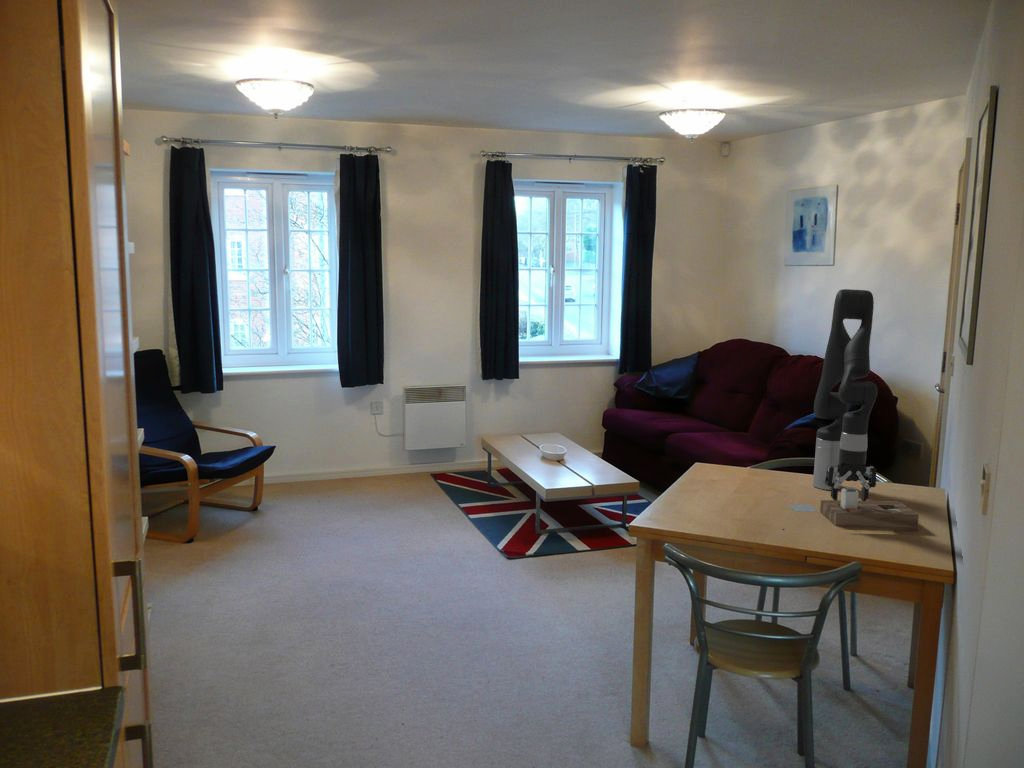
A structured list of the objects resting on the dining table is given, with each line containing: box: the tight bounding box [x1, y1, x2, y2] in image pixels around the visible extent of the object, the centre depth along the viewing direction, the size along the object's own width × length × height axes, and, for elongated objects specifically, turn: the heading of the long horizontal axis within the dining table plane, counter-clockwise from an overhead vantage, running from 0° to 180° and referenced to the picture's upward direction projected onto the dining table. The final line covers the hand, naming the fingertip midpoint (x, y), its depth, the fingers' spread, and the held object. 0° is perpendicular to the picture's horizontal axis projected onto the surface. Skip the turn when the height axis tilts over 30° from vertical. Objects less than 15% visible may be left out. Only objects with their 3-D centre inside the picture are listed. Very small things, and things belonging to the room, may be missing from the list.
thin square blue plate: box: [788, 504, 819, 513], centre depth 266 cm, size 7×7×1 cm
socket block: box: [819, 499, 920, 532], centre depth 255 cm, size 13×24×5 cm, turn 89°
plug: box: [840, 486, 859, 509], centre depth 255 cm, size 4×4×10 cm
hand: (848, 500), depth 255 cm, fingers open, 8 cm apart
